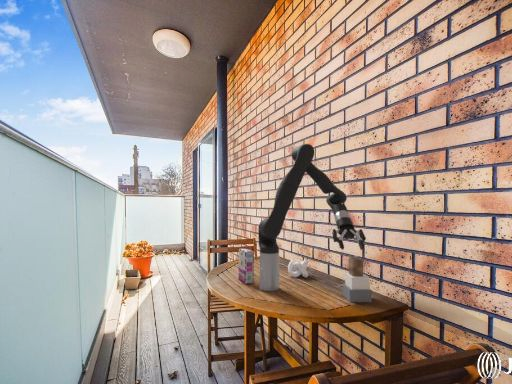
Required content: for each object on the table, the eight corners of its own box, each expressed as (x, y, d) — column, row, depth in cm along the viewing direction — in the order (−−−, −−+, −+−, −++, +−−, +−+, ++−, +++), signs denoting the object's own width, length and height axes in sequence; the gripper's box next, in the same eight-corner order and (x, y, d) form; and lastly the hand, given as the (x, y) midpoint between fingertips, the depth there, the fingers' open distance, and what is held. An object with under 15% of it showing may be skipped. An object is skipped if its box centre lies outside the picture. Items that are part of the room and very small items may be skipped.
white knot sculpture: (286, 278, 137) (286, 262, 138) (288, 273, 149) (288, 257, 149) (307, 279, 135) (307, 263, 135) (308, 274, 146) (308, 258, 147)
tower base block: (349, 302, 103) (349, 290, 103) (342, 294, 112) (342, 283, 112) (371, 302, 103) (371, 290, 103) (362, 295, 112) (362, 283, 112)
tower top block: (352, 289, 104) (351, 277, 104) (345, 284, 111) (345, 272, 112) (369, 289, 104) (369, 277, 104) (361, 284, 111) (361, 272, 112)
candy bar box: (254, 283, 128) (254, 251, 129) (245, 284, 126) (245, 251, 127) (246, 277, 138) (246, 248, 139) (238, 278, 136) (238, 248, 137)
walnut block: (352, 276, 106) (352, 259, 106) (348, 273, 110) (348, 257, 111) (363, 276, 106) (363, 259, 106) (359, 273, 110) (358, 257, 111)
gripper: (330, 216, 121) (338, 243, 109) (360, 216, 121) (371, 243, 109) (327, 226, 126) (335, 253, 114) (356, 226, 126) (366, 253, 114)
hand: (352, 248), depth 112 cm, fingers open, 8 cm apart
